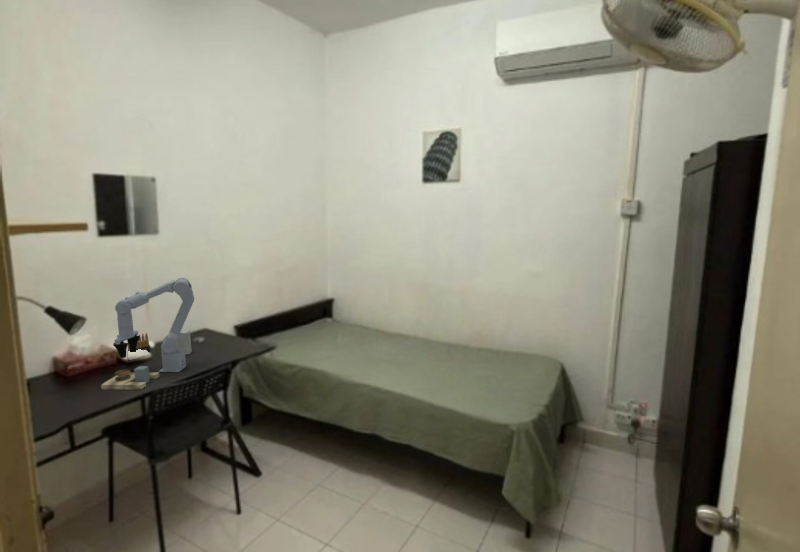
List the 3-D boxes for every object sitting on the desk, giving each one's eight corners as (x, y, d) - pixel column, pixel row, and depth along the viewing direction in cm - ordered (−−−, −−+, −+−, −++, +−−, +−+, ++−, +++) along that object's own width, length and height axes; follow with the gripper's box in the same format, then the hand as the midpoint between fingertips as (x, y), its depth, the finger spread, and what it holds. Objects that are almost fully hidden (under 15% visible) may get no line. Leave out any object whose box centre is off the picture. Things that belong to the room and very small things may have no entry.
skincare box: (191, 352, 230) (190, 330, 228) (189, 354, 226) (187, 332, 224) (179, 352, 229) (178, 330, 227) (176, 355, 225) (175, 333, 223)
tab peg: (149, 381, 192) (148, 366, 191) (144, 384, 188) (143, 369, 187) (140, 381, 192) (139, 366, 191) (135, 384, 188) (134, 369, 187)
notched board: (159, 376, 197) (158, 366, 196) (142, 389, 183) (141, 378, 182) (121, 376, 196) (120, 366, 196) (101, 389, 183) (100, 378, 182)
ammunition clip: (129, 360, 216) (127, 337, 214) (127, 360, 217) (125, 337, 215) (150, 354, 225) (149, 332, 223) (148, 354, 226) (146, 332, 224)
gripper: (126, 321, 203) (128, 349, 205) (106, 330, 188) (109, 360, 191) (141, 321, 203) (143, 349, 205) (122, 330, 189) (125, 360, 191)
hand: (128, 354), depth 198 cm, fingers open, 7 cm apart
